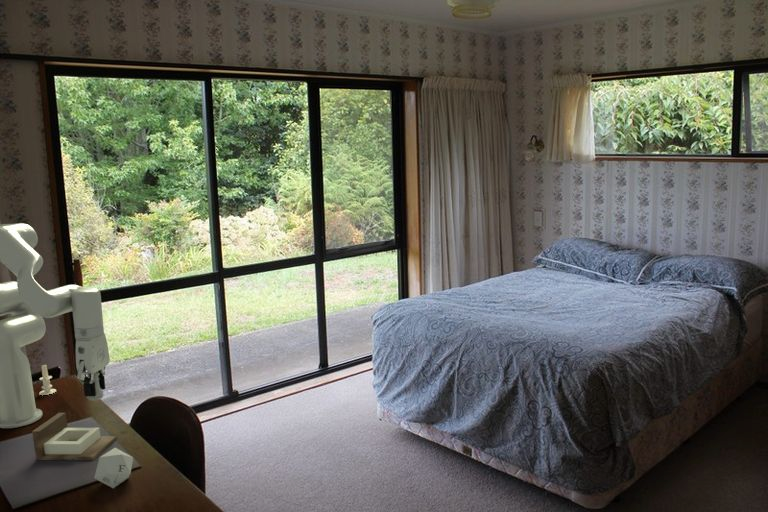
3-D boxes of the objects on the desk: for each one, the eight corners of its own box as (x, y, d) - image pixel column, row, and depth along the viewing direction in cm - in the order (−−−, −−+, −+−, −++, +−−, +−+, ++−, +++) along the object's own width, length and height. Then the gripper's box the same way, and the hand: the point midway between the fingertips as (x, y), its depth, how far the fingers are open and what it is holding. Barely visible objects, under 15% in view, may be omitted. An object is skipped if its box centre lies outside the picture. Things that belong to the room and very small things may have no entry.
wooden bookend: (36, 459, 173) (32, 431, 172) (62, 439, 185) (58, 412, 184) (93, 460, 172) (89, 431, 170) (116, 439, 183) (113, 412, 182)
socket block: (45, 454, 174) (43, 444, 173) (66, 437, 184) (65, 427, 183) (80, 454, 173) (79, 444, 172) (100, 437, 183) (99, 427, 182)
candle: (35, 395, 220) (31, 366, 218) (46, 390, 225) (41, 361, 223) (49, 396, 219) (45, 366, 218) (59, 390, 224) (55, 361, 223)
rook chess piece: (97, 401, 187) (95, 374, 186) (83, 400, 188) (81, 373, 187) (107, 395, 191) (105, 369, 190) (93, 394, 192) (91, 368, 191)
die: (91, 496, 155) (107, 469, 152) (87, 466, 161) (102, 439, 157) (125, 495, 160) (141, 469, 157) (120, 466, 166) (135, 440, 163)
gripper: (85, 341, 177) (91, 404, 181) (116, 323, 194) (121, 382, 197) (59, 340, 178) (66, 403, 182) (92, 322, 195) (98, 381, 198)
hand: (95, 391), depth 189 cm, fingers closed on rook chess piece, 4 cm apart
